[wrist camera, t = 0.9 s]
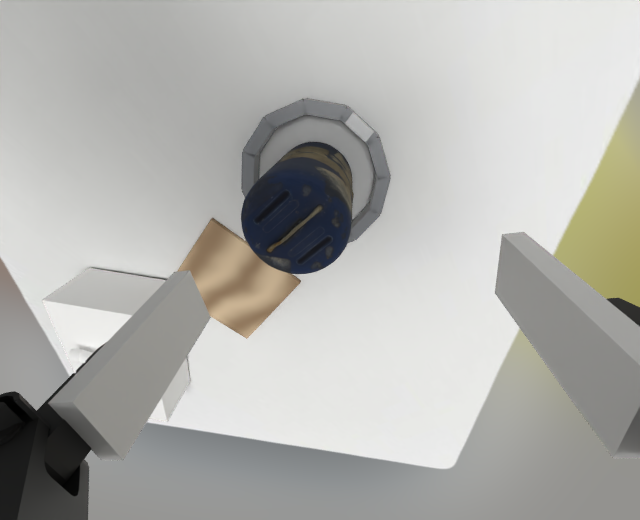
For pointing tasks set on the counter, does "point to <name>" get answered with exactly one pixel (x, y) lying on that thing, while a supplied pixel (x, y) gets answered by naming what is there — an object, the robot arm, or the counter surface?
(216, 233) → the mat
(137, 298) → the tissue box
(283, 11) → the counter surface
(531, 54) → the counter surface
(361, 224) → the collar
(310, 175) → the canister
